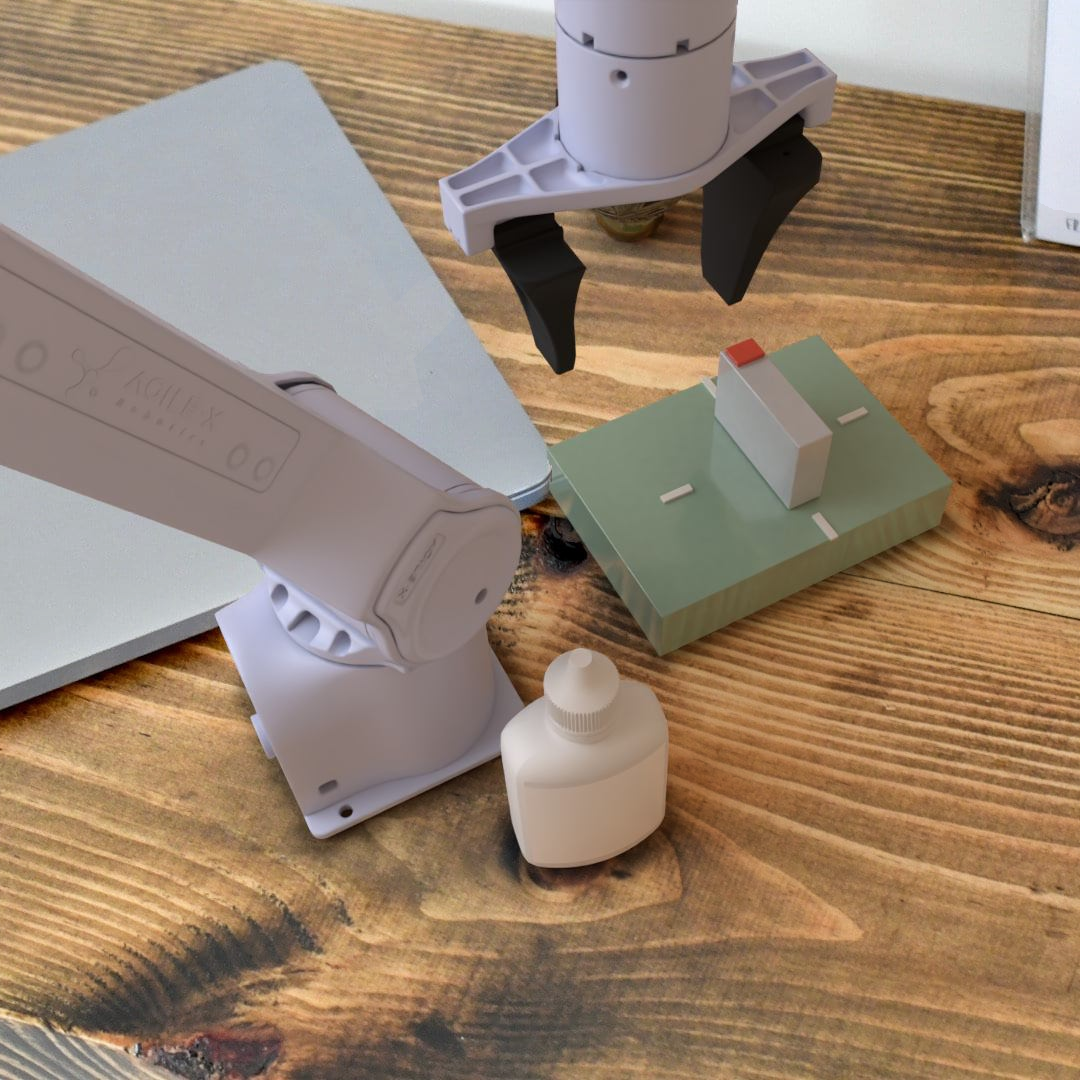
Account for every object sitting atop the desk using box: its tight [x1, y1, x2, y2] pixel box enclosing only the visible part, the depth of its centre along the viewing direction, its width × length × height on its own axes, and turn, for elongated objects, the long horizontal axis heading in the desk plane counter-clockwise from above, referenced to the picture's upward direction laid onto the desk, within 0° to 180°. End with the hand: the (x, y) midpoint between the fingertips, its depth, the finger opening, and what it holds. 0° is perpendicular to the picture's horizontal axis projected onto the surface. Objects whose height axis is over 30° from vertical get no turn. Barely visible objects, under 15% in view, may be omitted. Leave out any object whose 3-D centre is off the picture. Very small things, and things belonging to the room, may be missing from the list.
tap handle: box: [714, 337, 833, 509], centre depth 54 cm, size 6×2×4 cm, turn 26°
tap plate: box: [545, 333, 954, 657], centre depth 57 cm, size 14×10×3 cm
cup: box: [554, 87, 684, 242], centre depth 66 cm, size 8×7×8 cm
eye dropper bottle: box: [501, 647, 670, 869], centre depth 45 cm, size 4×6×12 cm
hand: (639, 322), depth 52 cm, fingers open, 7 cm apart
